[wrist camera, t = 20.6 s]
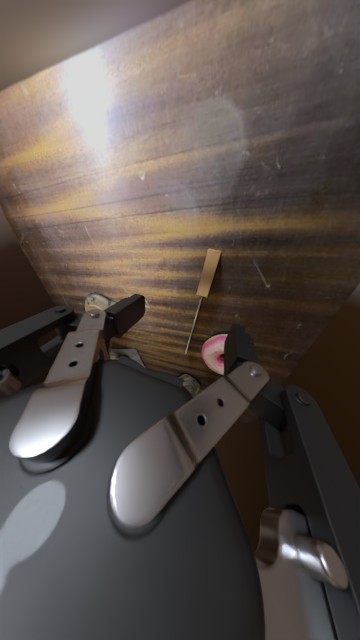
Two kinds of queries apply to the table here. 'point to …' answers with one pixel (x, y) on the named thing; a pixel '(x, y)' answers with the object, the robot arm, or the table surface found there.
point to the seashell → (191, 384)
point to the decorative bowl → (97, 302)
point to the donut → (214, 353)
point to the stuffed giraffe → (126, 354)
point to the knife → (206, 279)
